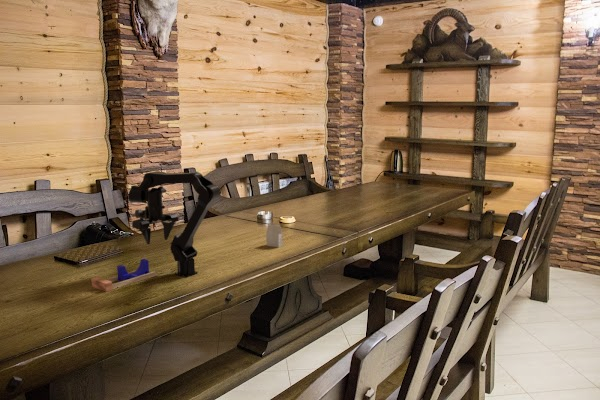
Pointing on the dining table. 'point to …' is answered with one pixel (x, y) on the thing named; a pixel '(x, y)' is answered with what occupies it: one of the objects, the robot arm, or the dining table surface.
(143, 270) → the blue cradle block
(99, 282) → the guide track
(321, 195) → the dining table surface
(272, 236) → the grey upright block
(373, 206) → the dining table surface
